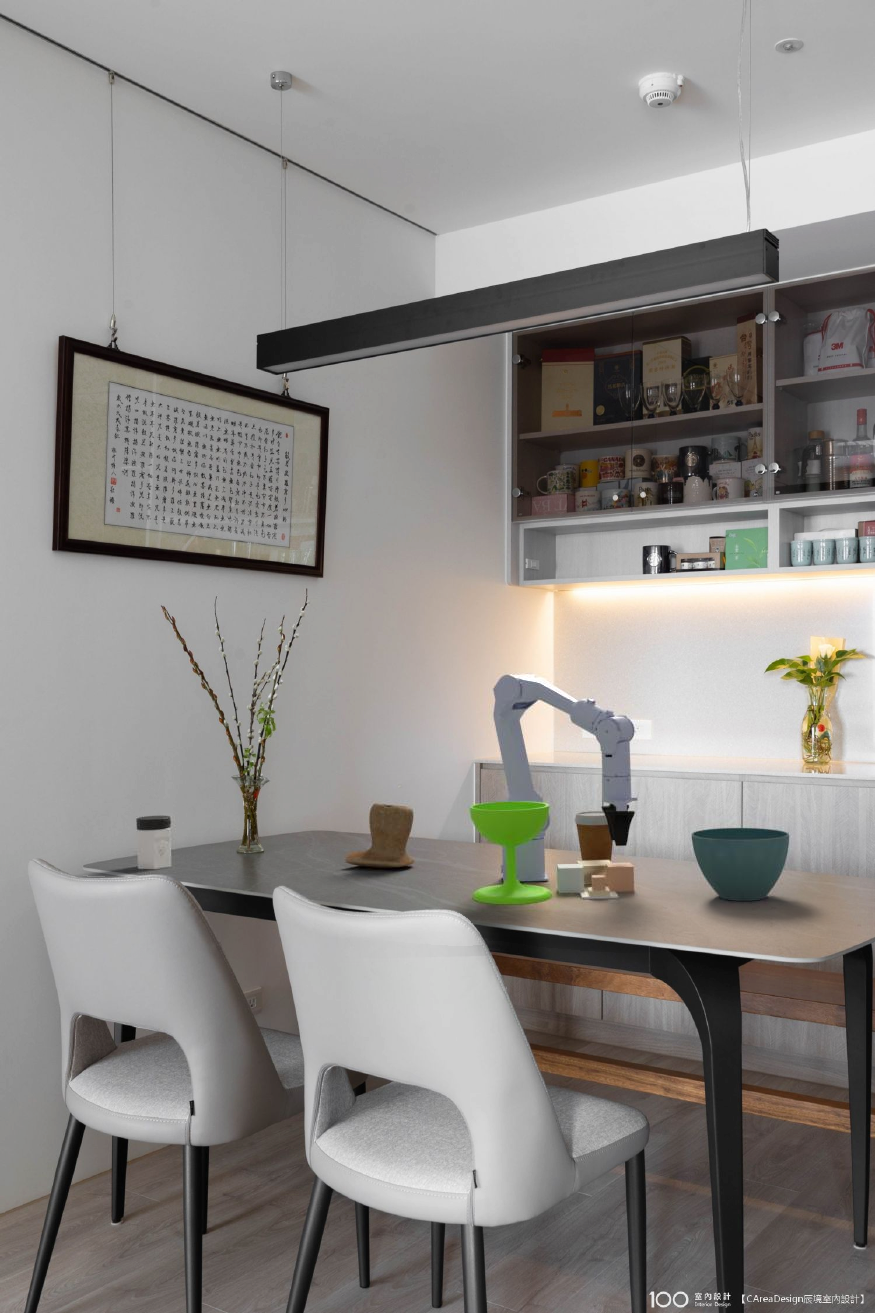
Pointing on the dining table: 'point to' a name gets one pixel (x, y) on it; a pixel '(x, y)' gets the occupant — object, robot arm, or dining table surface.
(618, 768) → the robot arm
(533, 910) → the dining table surface
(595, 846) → the disposable coffee cup
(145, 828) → the jar
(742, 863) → the dark teal bowl
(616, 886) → the terracotta block
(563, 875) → the grey block
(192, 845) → the dining table surface
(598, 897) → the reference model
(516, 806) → the wineglass
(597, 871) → the maple base block
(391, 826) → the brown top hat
